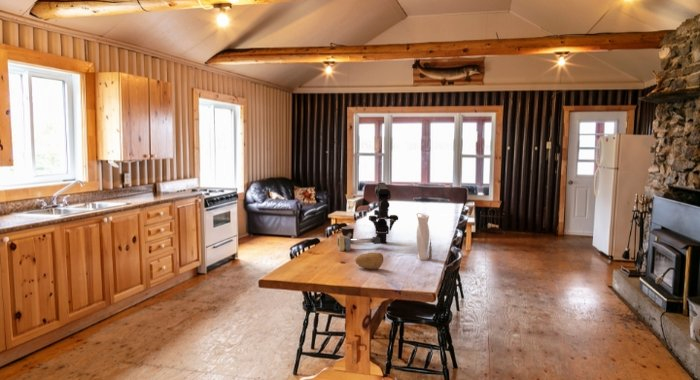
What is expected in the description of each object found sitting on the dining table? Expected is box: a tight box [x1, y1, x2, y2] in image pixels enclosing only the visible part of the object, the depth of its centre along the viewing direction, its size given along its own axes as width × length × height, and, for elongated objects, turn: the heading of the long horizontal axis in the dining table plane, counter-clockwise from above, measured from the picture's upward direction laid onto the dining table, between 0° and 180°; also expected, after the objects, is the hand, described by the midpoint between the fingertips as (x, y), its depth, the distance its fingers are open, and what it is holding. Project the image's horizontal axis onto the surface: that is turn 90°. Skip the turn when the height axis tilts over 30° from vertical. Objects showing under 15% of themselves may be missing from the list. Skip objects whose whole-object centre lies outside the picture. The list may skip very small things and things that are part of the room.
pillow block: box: [344, 236, 352, 252], centre depth 302 cm, size 3×9×8 cm, turn 13°
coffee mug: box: [336, 226, 355, 239], centre depth 325 cm, size 12×9×10 cm
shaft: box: [351, 236, 381, 245], centre depth 304 cm, size 22×4×4 cm, turn 103°
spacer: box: [336, 233, 345, 252], centre depth 301 cm, size 3×8×10 cm, turn 13°
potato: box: [354, 251, 384, 271], centre depth 254 cm, size 9×16×9 cm, turn 70°
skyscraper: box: [416, 212, 433, 262], centre depth 276 cm, size 8×8×28 cm
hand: (383, 230), depth 307 cm, fingers open, 9 cm apart
